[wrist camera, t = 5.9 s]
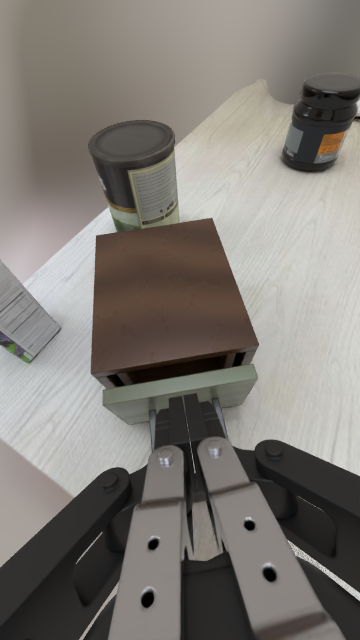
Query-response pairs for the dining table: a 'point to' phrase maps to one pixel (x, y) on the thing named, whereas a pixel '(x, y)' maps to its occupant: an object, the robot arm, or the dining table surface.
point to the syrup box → (22, 319)
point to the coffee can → (137, 173)
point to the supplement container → (321, 120)
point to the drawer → (180, 391)
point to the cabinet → (165, 301)
